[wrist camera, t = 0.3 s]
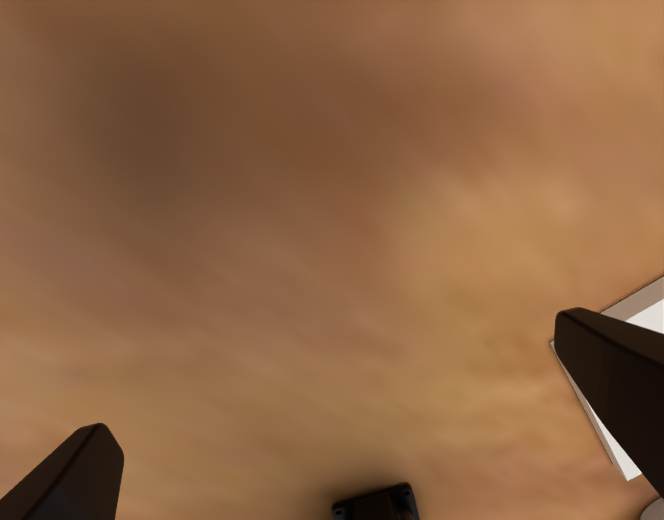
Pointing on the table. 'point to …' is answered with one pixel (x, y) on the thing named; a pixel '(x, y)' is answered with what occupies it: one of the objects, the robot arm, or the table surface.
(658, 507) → the cup
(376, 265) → the table surface
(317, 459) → the table surface
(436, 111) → the table surface
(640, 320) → the base
